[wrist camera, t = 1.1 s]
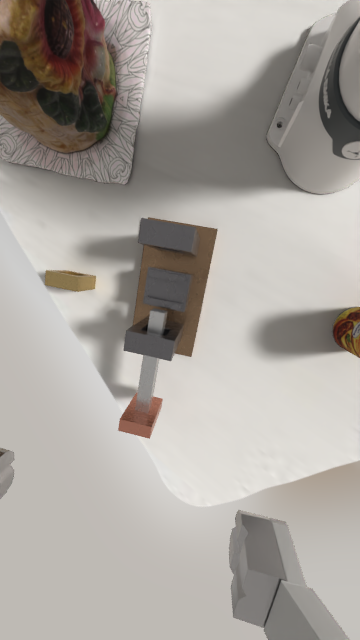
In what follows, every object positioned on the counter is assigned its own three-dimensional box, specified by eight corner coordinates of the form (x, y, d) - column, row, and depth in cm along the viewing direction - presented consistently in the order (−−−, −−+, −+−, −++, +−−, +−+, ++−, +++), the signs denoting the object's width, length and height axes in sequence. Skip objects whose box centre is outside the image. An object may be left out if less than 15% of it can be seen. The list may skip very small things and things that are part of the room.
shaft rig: (150, 219, 41) (124, 197, 29) (217, 230, 40) (219, 213, 28) (132, 341, 47) (104, 365, 34) (191, 354, 46) (184, 384, 33)
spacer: (67, 270, 46) (45, 270, 40) (96, 276, 45) (78, 276, 39) (66, 283, 46) (45, 285, 40) (94, 289, 46) (77, 291, 40)
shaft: (150, 303, 39) (134, 312, 32) (179, 309, 39) (170, 319, 31) (135, 402, 44) (118, 430, 36) (160, 408, 43) (149, 438, 35)
